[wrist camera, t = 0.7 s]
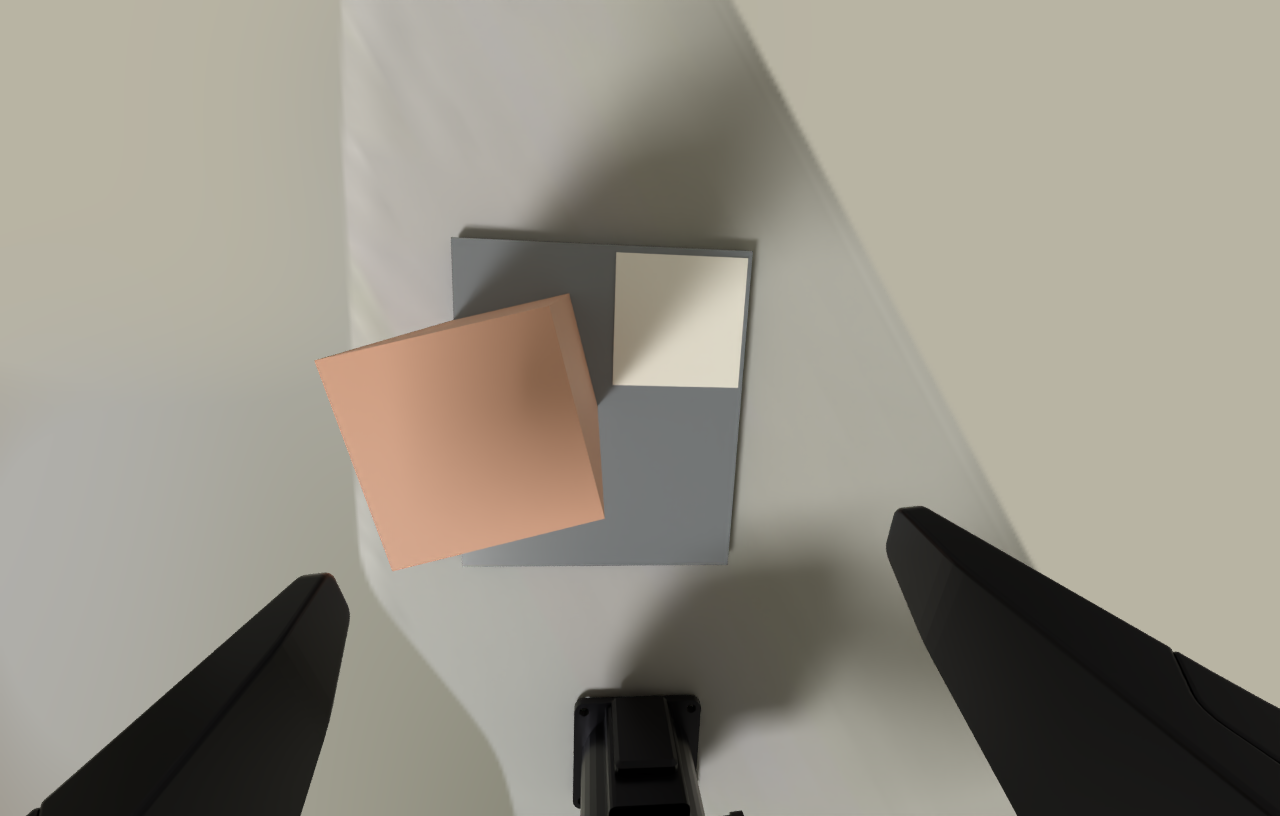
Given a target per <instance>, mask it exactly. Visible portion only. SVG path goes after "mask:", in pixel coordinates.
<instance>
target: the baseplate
mask: <svg viewBox="0 0 1280 816" xmlns="http://www.w3.org/2000/svg"><path fill="white" fill-rule="evenodd" d="M451 255H452V285H453V314H454V320H456V319H460V318H465V317H469V316H473V315H478V314H482V313H486V312H491V311H495V310H499V309H503V308H508V307H512V306H516V305H521V304H525V303H529V302H533V301H538V300H542V299H546V298H551V297H555V296H559V295H563V294H568V293H569V295H570V299H571V303H572V306H573V310H574V314H575V318H576V322H577V326H578V330H579V334H580V338H581V342H582V346H583V350H584V354H585V358H586V362H587V366H588V370H589V374H590V378H591V382H592V386H593V390H594V394H595V398H596V402H597V406H598V422H599V437H600V453H601V468H602V483H603V499H604V514H605V519H601V520H597V521H593V522H589V523H585V524H581V525H577V526H573V527H569V528H565V529H561V530H557V531H553V532H549V533H545V534H541V535H537V536H533V537H529V538H525V539H521V540H517V541H512V542H508V543H504V544H500V545H496V546H492V547H488V548H484V549H480V550H476V551H472V552H468V553H464V554H462V567H501V566H621V565H728V553H729V541H730V528H731V516H732V504H733V491H734V479H735V466H736V454H737V441H738V429H739V416H740V404H741V392H742V379H743V367H744V354H745V342H746V329H747V317H748V305H749V292H750V280H751V267H752V255H753V251H738V250H716V249H694V248H673V247H651V246H629V245H608V244H586V243H564V242H543V241H521V240H499V239H478V238H456V237H451Z"/></svg>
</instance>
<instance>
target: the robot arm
mask: <svg viewBox="0 0 1280 816" xmlns="http://www.w3.org/2000/svg"><path fill="white" fill-rule="evenodd" d="M886 551H887V556H888V559H889V562H890V564H891V566H892V569H893V571H894V574H895V576H896V578H897V581H898V583H899V586H900V588H901V590H902V593H903V595H904V598H905V600H906V602H907V605H908V607H909V610H910V612H911V614H912V617H913V619H914V622H915V624H916V626H917V629H918V631H919V633H920V635H921V638H922V640H923V642H924V644H925V646H926V648H927V650H928V652H929V654H930V656H931V658H932V660H933V661H934V663H935V665H936V667H937V669H938V671H939V673H940V674H941V676H942V678H943V680H944V682H945V684H946V685H947V687H948V689H949V691H950V693H951V695H952V696H953V698H954V700H955V702H956V704H957V706H958V707H959V709H960V711H961V713H962V715H963V717H964V719H965V720H966V722H967V724H968V726H969V728H970V730H971V731H972V733H973V735H974V737H975V739H976V741H977V742H978V744H979V746H980V748H981V750H982V752H983V753H984V755H985V757H986V759H987V761H988V763H989V765H990V766H991V768H992V770H993V772H994V774H995V776H996V777H997V779H998V781H999V783H1000V785H1001V787H1002V788H1003V790H1004V792H1005V794H1006V796H1007V798H1008V799H1009V801H1010V803H1011V805H1012V807H1013V809H1014V811H1015V812H1016V814H1017V816H1280V708H1278V707H1276V706H1274V705H1272V704H1270V703H1268V702H1266V701H1264V700H1263V699H1261V698H1259V697H1257V696H1255V695H1254V694H1252V693H1250V692H1248V691H1246V690H1245V689H1243V688H1241V687H1239V686H1237V685H1235V684H1234V683H1232V682H1230V681H1228V680H1226V679H1225V678H1223V677H1221V676H1219V675H1218V674H1216V673H1214V672H1212V671H1210V670H1209V669H1207V668H1205V667H1203V666H1202V665H1200V664H1198V663H1197V662H1195V661H1193V660H1191V659H1190V658H1188V657H1186V656H1184V655H1183V654H1181V653H1179V652H1173V651H1172V649H1171V648H1170V647H1168V646H1167V645H1165V644H1163V643H1161V642H1160V641H1158V640H1156V639H1154V638H1153V637H1151V636H1149V635H1147V634H1146V633H1144V632H1142V631H1140V630H1139V629H1137V628H1135V627H1133V626H1132V625H1130V624H1128V623H1126V622H1125V621H1123V620H1121V619H1120V618H1118V617H1116V616H1114V615H1113V614H1111V613H1109V612H1107V611H1106V610H1104V609H1102V608H1100V607H1098V606H1097V605H1095V604H1093V603H1092V602H1090V601H1088V600H1086V599H1085V598H1083V597H1081V596H1079V595H1078V594H1076V593H1074V592H1072V591H1071V590H1069V589H1067V588H1065V587H1064V586H1062V585H1060V584H1059V583H1057V582H1055V581H1053V580H1052V579H1050V578H1048V577H1046V576H1045V575H1043V574H1041V573H1039V572H1038V571H1036V570H1034V569H1032V568H1031V567H1029V566H1027V565H1025V564H1024V563H1022V562H1020V561H1018V560H1017V559H1015V558H1013V557H1011V556H1010V555H1008V554H1006V553H1005V552H1003V551H1001V550H999V549H998V548H996V547H994V546H992V545H991V544H989V543H987V542H985V541H984V540H982V539H980V538H978V537H977V536H975V535H973V534H971V533H970V532H968V531H966V530H964V529H963V528H961V527H959V526H957V525H956V524H954V523H952V522H950V521H949V520H947V519H945V518H944V517H942V516H940V515H938V514H937V513H935V512H933V511H931V510H930V509H928V508H926V507H923V506H913V507H904V508H899V509H897V510H896V512H895V513H894V516H893V520H892V524H891V527H890V531H889V535H888V539H887V543H886ZM349 621H350V612H349V608H348V605H347V603H346V601H345V599H344V596H343V594H342V592H341V590H340V588H339V586H338V584H337V582H336V580H335V578H334V576H333V575H331V574H330V573H318V574H309V575H303V576H301V577H299V578H297V579H296V580H295V581H294V582H292V583H291V584H290V585H289V586H288V587H287V588H286V589H285V590H283V591H282V592H281V593H280V594H279V595H278V596H277V597H275V598H274V599H273V600H272V601H271V602H270V603H269V604H267V605H266V606H265V607H264V608H263V609H262V610H261V611H259V612H258V613H257V614H256V615H255V616H254V617H253V618H251V619H250V620H249V621H248V622H247V623H246V624H245V625H243V626H242V627H241V628H240V629H239V630H238V631H237V632H235V633H234V634H233V635H232V636H231V637H230V638H229V639H228V640H226V641H225V642H224V643H223V644H222V645H221V646H220V647H218V648H217V649H216V650H215V651H214V652H213V653H211V655H209V656H208V657H207V658H206V659H205V660H204V661H202V662H201V663H200V664H199V665H198V666H197V667H196V668H194V669H193V670H192V671H191V672H190V673H189V674H188V675H186V676H185V677H184V678H183V679H182V680H181V681H180V682H178V683H177V684H176V685H175V686H174V687H173V688H172V689H170V690H169V691H168V692H167V693H166V694H165V695H164V696H162V697H161V698H160V699H159V700H158V701H157V702H156V703H154V704H153V705H152V706H151V707H150V708H149V709H148V710H146V711H145V712H144V713H143V714H142V715H141V716H140V717H139V718H137V719H136V720H135V721H134V722H133V723H132V724H131V725H129V726H128V727H127V728H126V729H125V730H124V731H123V732H121V733H120V734H119V735H118V736H117V737H116V738H115V739H113V740H112V741H111V742H110V743H109V744H108V745H107V746H105V747H104V748H103V749H102V750H101V751H100V752H99V753H97V754H96V755H95V756H94V757H93V758H92V759H91V760H89V761H88V762H87V763H86V764H85V765H84V766H83V767H81V769H79V770H78V771H77V772H76V773H75V774H73V775H72V776H71V777H70V778H69V779H68V780H67V781H65V782H64V783H63V784H62V785H61V786H60V787H59V788H58V789H57V790H56V791H54V792H53V793H52V794H51V795H49V796H48V797H47V798H46V799H45V800H44V801H43V802H42V804H41V807H40V808H36V809H34V810H32V811H31V812H30V813H29V814H28V815H26V816H300V815H301V812H302V809H303V806H304V803H305V799H306V796H307V793H308V790H309V786H310V783H311V780H312V777H313V773H314V770H315V767H316V764H317V761H318V757H319V754H320V751H321V748H322V745H323V742H324V738H325V735H326V731H327V728H328V724H329V720H330V716H331V712H332V707H333V703H334V697H335V692H336V687H337V682H338V677H339V672H340V667H341V662H342V657H343V652H344V647H345V641H346V637H347V632H348V627H349ZM691 704H692V705H693V706H692V707H687V706H688V705H691ZM582 708H587V710H585V711H583V710H581V709H582ZM700 712H701V707H700V702H699V699H698V698H697V697H696V696H694V695H666V696H634V697H601V698H582V699H580V700H578V701H577V702H576V703H575V708H574V769H573V804H574V805H575V807H577V808H579V809H581V814H580V816H705V814H704V809H703V804H702V800H701V795H700V790H699V786H698V781H697V777H696V766H697V753H698V739H699V726H700ZM725 816H744V815H743V812H742V811H734V812H730V815H725Z"/></svg>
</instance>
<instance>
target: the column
mask: <svg viewBox="0 0 1280 816" xmlns="http://www.w3.org/2000/svg"><path fill="white" fill-rule="evenodd" d="M315 363H316V366H317V369H318V371H319V374H320V377H321V379H322V382H323V385H324V388H325V390H326V393H327V396H328V398H329V401H330V404H331V407H332V409H333V412H334V415H335V417H336V420H337V423H338V425H339V428H340V430H341V434H342V436H343V439H344V441H345V444H346V447H347V450H348V452H349V455H350V458H351V461H352V463H353V466H354V469H355V471H356V474H357V477H358V479H359V482H360V485H361V488H362V490H363V493H364V496H365V498H366V501H367V504H368V506H369V509H370V512H371V514H372V517H373V520H374V523H375V525H376V528H377V531H378V533H379V536H380V539H381V541H382V544H383V547H384V550H385V552H386V555H387V558H388V560H389V563H390V566H391V568H392V571H395V570H400V569H404V568H408V567H412V566H416V565H420V564H424V563H428V562H432V561H436V560H440V559H444V558H448V557H452V556H456V555H460V554H464V553H468V552H472V551H476V550H480V549H484V548H488V547H492V546H496V545H500V544H504V543H508V542H512V541H517V540H521V539H525V538H529V537H533V536H537V535H541V534H545V533H549V532H553V531H557V530H561V529H565V528H569V527H573V526H577V525H581V524H585V523H589V522H593V521H597V520H601V519H605V514H604V499H603V483H602V468H601V453H600V437H599V422H598V406H597V402H596V398H595V394H594V390H593V386H592V382H591V378H590V374H589V370H588V366H587V362H586V358H585V354H584V350H583V346H582V342H581V338H580V334H579V330H578V326H577V322H576V318H575V314H574V310H573V306H572V303H571V299H570V295H569V293H568V294H563V295H559V296H555V297H551V298H546V299H542V300H538V301H533V302H529V303H525V304H521V305H516V306H512V307H508V308H503V309H499V310H495V311H491V312H486V313H482V314H478V315H473V316H469V317H465V318H460V319H456V320H452V321H449V322H445V323H442V324H438V325H435V326H431V327H428V328H424V329H421V330H418V331H414V332H411V333H407V334H404V335H400V336H397V337H394V338H390V339H387V340H383V341H380V342H376V343H373V344H370V345H366V346H363V347H359V348H356V349H352V350H349V351H346V352H343V353H339V354H335V355H332V356H328V357H325V358H322V359H318V360H315Z"/></svg>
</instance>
